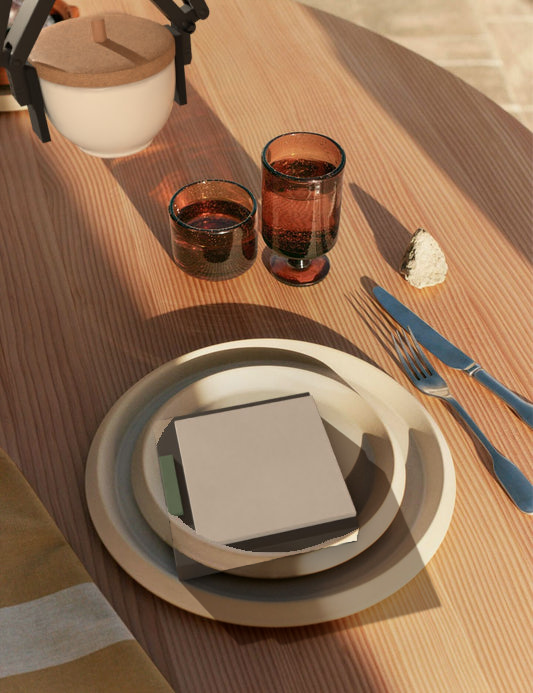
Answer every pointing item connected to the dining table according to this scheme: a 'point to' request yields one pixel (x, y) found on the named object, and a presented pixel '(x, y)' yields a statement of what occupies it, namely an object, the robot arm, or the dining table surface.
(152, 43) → the lidded bowl
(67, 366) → the dining table surface
